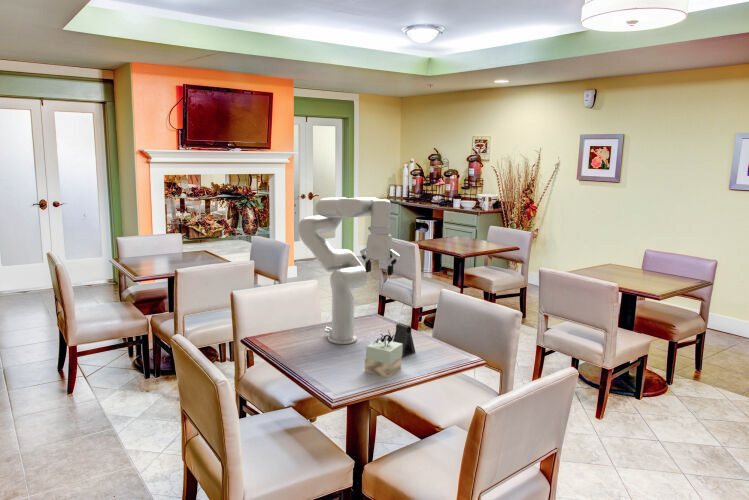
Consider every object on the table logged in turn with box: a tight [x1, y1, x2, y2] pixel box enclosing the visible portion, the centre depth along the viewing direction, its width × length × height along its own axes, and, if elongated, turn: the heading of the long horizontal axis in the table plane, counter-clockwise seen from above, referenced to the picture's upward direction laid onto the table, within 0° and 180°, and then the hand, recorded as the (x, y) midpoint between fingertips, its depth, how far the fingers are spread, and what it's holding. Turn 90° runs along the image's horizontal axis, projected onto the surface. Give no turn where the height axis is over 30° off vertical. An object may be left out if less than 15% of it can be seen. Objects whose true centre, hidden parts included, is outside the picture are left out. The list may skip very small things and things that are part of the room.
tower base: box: [364, 357, 402, 378], centre depth 204 cm, size 10×10×5 cm
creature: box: [373, 330, 395, 349], centre depth 202 cm, size 8×5×8 cm
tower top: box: [365, 338, 403, 365], centre depth 203 cm, size 10×10×5 cm
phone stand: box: [392, 322, 416, 358], centre depth 221 cm, size 9×6×12 cm, turn 133°
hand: (379, 273), depth 216 cm, fingers open, 9 cm apart
